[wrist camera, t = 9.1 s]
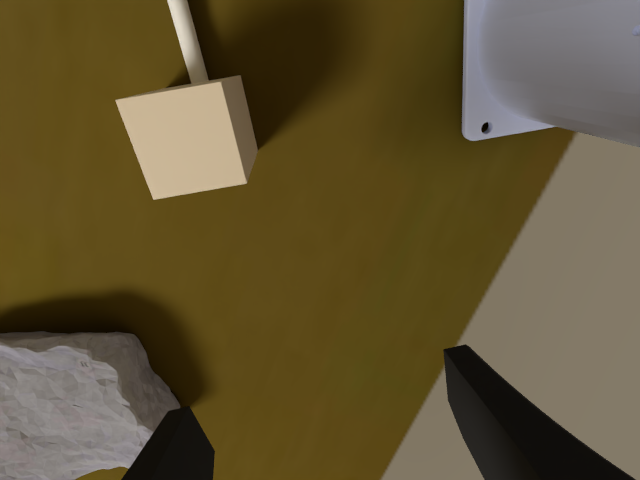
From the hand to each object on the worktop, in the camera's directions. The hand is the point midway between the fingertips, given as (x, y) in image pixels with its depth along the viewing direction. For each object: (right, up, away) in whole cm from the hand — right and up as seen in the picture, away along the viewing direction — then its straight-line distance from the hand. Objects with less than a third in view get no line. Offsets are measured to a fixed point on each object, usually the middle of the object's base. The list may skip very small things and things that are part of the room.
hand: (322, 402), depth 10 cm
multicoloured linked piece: (-6, +15, +3) cm, 16 cm away
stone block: (-15, -4, +12) cm, 20 cm away
